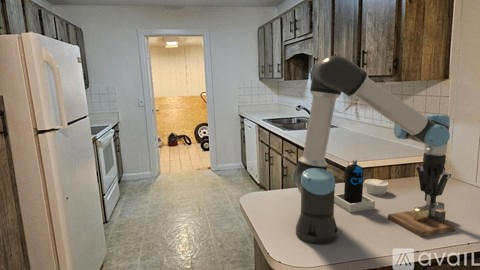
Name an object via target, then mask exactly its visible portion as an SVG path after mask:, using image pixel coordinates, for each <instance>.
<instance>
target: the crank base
mask: <svg viewBox="0 0 480 270" xmlns="http://www.w3.org/2000/svg"><path fill="white" fill-rule="evenodd" d="M446 213H447V211H446V210H445V209H444V210H442V209H438V210H435V216H434V217H433V218H430V219H428V221H427V222H421V221H417V220H415V219H414V218H413V214H414V209H412V210H408V211H407V210H406V211H401V212H395V213H389V214H387V220H389V221H391V222H392V223H394V224H397V225H398V226H400V227H402V228H404V229H406V230H407V231H409V232H411V233H412V234H415V235H416V236H418V237H420V238H425V237H430V236H435V235H439V234H441V235H442V234H446V233H451V232H454V231H455V232H456V230H457V229H456V227H457V226H456V224H453V223H451V222H449V221H447V220H446Z"/></svg>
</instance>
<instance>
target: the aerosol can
mask: <svg viewBox="0 0 480 270" xmlns="http://www.w3.org/2000/svg"><path fill="white" fill-rule="evenodd" d="M364 171H365V169H364V168H363V167H362V166H360V165H359V164H358V160H357V159H352V163H351V164H348V165H347V166H346V167H345V168H344V188H343V189H344V192H343V193H344V200H345V201H347V202H348V203H350V204H352V203H358V202H362V195H363V194H364V193H363V189H364Z"/></svg>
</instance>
